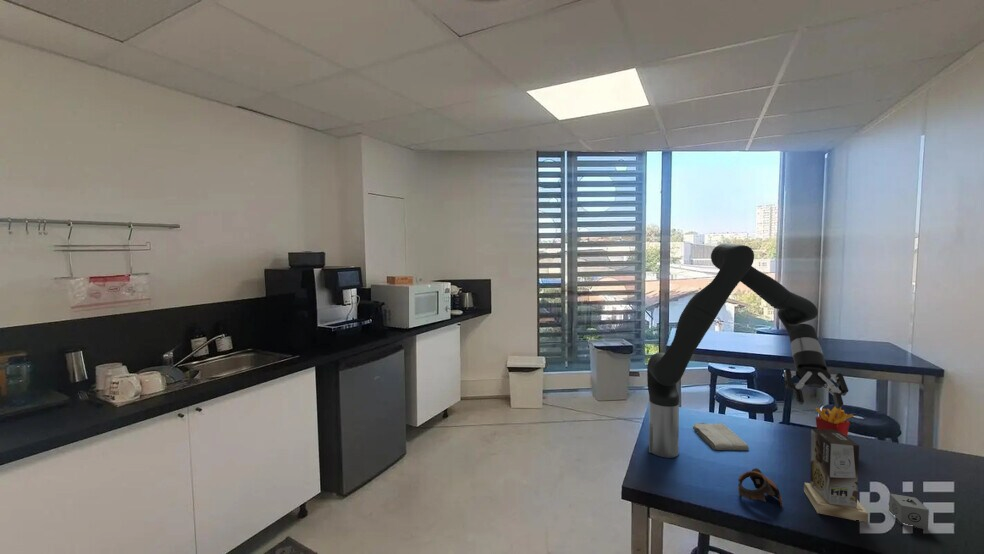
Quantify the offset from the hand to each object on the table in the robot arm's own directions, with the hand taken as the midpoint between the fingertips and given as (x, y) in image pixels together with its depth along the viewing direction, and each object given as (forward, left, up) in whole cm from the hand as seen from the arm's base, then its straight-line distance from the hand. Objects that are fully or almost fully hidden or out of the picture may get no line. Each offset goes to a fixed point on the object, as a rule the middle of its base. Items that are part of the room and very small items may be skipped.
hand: (820, 405), depth 111 cm
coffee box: (0, -10, -21) cm, 23 cm away
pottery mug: (-17, -14, -23) cm, 32 cm away
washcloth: (-22, +21, -24) cm, 39 cm away
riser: (0, -11, -23) cm, 25 cm away
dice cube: (+15, -11, -23) cm, 30 cm away
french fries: (+13, +26, -23) cm, 38 cm away
